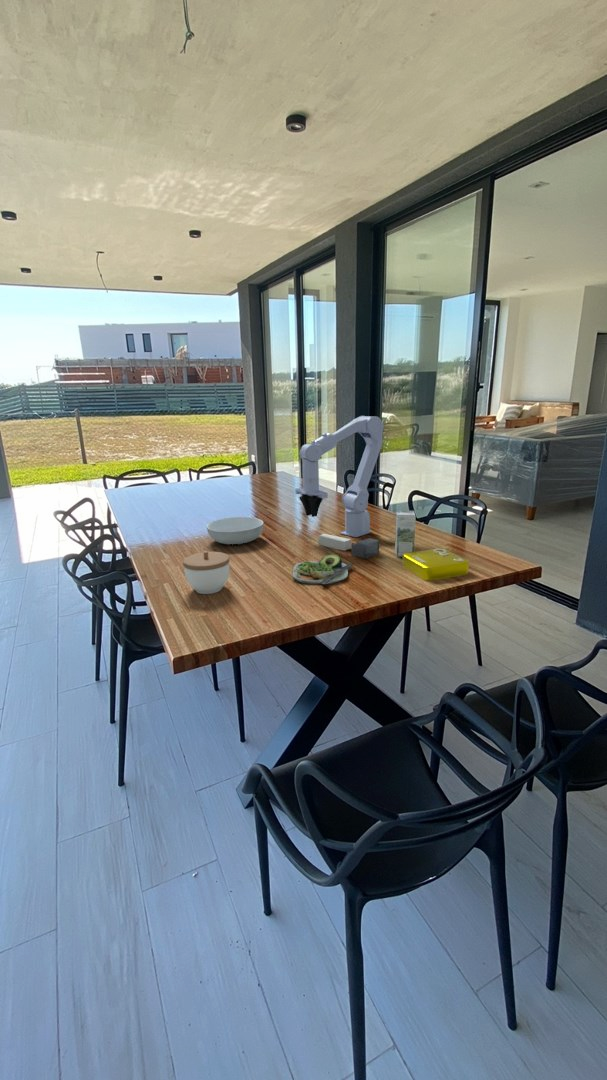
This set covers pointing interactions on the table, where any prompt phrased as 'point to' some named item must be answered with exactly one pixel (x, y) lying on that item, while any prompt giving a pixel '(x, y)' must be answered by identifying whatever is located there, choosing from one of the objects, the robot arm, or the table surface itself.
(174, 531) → the table surface
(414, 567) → the element tile
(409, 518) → the syrup box
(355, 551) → the dark gray block
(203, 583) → the lidded sugar bowl
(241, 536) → the serving bowl
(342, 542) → the gray rectangular block
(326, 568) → the salad plate
